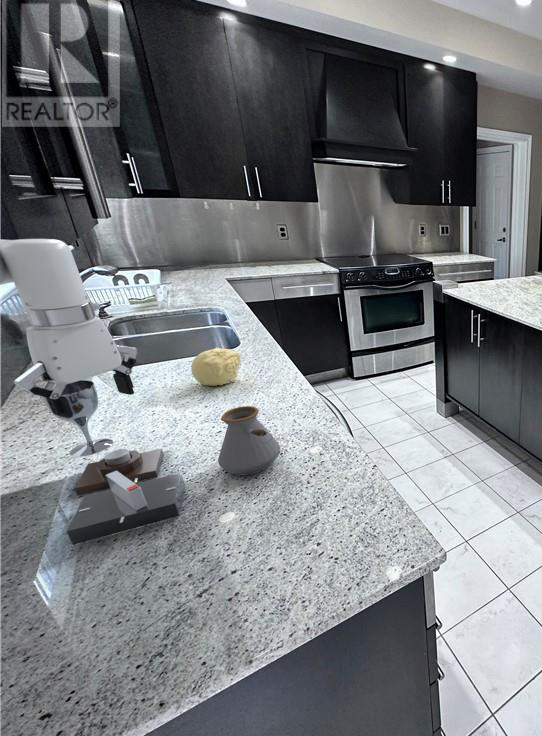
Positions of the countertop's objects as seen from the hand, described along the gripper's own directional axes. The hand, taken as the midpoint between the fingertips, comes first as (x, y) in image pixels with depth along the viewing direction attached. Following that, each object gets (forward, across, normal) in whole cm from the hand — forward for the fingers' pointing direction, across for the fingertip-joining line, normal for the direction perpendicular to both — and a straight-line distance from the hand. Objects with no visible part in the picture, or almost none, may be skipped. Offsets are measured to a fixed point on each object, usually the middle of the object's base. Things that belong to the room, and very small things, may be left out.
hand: (97, 404), depth 75 cm
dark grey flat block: (+18, +6, +10) cm, 21 cm away
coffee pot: (+18, -10, +23) cm, 31 cm away
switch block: (+18, -1, -3) cm, 18 cm away
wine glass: (+18, -6, -20) cm, 27 cm away
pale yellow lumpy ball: (+18, -42, -25) cm, 52 cm away
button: (+15, -1, -3) cm, 15 cm away
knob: (+15, +6, +11) cm, 19 cm away
